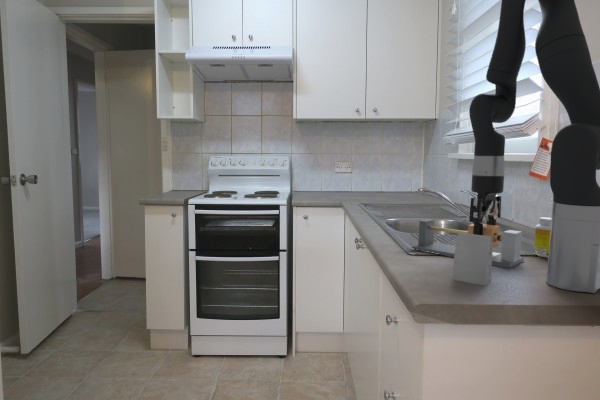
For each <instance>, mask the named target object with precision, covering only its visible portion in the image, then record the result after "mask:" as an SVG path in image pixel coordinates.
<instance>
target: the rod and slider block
mask: <svg viewBox="0 0 600 400" xmlns="http://www.w3.org/2000/svg"><path fill="white" fill-rule="evenodd" d="M435 223H436V222H435V219H432V218H431V219H430V218H426V219H422V220H419V223H418V224H419V225H418V226H419V227H418V241H417V242H418V244H415V245H412V246H411V249H412V248H414V249H418V250H423V251H429V252H434V253H439V254H442V255H441V256H443V255H444V257H448V258H453V259H454V254H455V248H456V245H455V244H454V245H453V244H448V243H441V242H436V241H434V240H435V239H434V235H435V234H434V233H435V231H437V232H444V233H451V234H456V235H458V233H466V234H468V230H463V229H462V230H460V229H452V228H447V227H440V226H435ZM522 236H523V231H521V230H512V229H508V230H504V231H503V232H502V234H499V235H498V236H497V235H494V239H497V241H499V242H502V244H501V252H493V251H492V254H493V255H492V266H496V267H502V268H506V269H510V268H512V267H515V266H517V265H519V264H520V263H522V262H524V259H525V256H524V257H523V256H521V252H522V251H521V250H522V238H523V237H522Z"/></svg>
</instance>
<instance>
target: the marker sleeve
mask: <svg viewBox="0 0 600 400" xmlns="http://www.w3.org/2000/svg"><path fill="white" fill-rule="evenodd" d="M473 226H474V224H473V223H472V224H468V226H467V231H468V234H473ZM500 227H501V226H500V225H497V224H496V225H488V224H487V223H484V224H483V236H490V237H492V249H494V248H496V247H499V245H500V244H499V242H500V241H497V239H494V235H497V236H498V235H500V231H501V229H500Z"/></svg>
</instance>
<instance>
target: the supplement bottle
mask: <svg viewBox="0 0 600 400" xmlns="http://www.w3.org/2000/svg"><path fill="white" fill-rule="evenodd" d="M551 219H552V217H544V216H543V217H539V221H538V224H536V225H535V228H534V229H535V230H534V240H533V252H532V253H533V254H534V255H535V254H536V255H537V256H536V255H535V256H536V257H540V258H545V259H546V258H547V259H548V255H549V243H550V231H551Z"/></svg>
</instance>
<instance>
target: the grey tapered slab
mask: <svg viewBox="0 0 600 400" xmlns="http://www.w3.org/2000/svg"><path fill="white" fill-rule="evenodd" d="M455 246H456V248H455V254H454V258H453V271H452V272H453V273H452V275H453V276H452V280H454V281H458V282H463V283H469V284H474V285H480V286H484V287H486V286H488V285H489V284H490V283H491V280H492V268H493V267H492V266H493V265H492V255H493V254H492V252H493V248H492V237H490V236H482V235H474V234H466V233H458V234H457V238H456V245H455Z"/></svg>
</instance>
